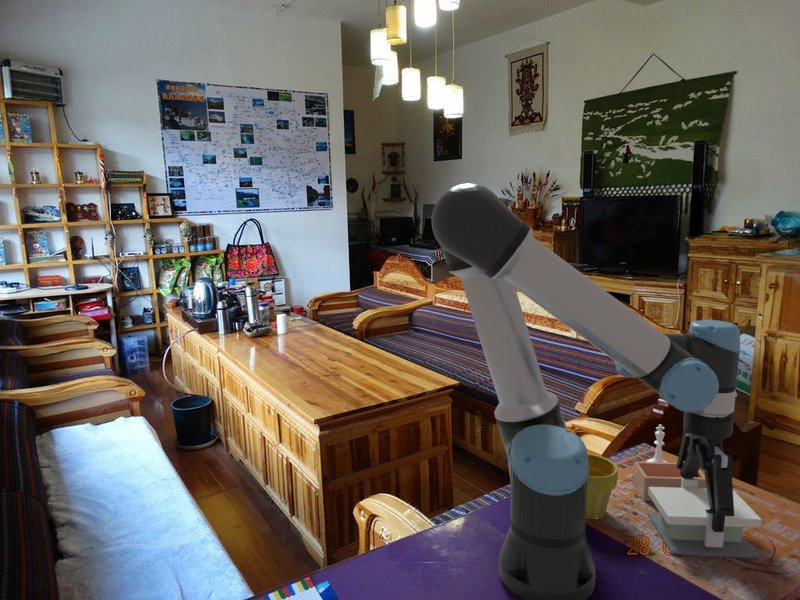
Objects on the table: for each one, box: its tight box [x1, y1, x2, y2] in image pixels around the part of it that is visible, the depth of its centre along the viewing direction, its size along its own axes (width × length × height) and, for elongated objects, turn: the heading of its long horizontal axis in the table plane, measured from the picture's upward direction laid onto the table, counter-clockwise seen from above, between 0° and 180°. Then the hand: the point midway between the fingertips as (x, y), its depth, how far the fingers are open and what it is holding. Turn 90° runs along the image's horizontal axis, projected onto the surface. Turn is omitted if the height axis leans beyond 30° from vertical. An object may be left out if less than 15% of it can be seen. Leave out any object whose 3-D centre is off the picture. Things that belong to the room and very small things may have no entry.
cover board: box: [648, 487, 763, 528], centre depth 98 cm, size 15×10×2 cm, turn 84°
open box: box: [632, 461, 707, 502], centre depth 114 cm, size 12×7×5 cm, turn 84°
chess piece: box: [646, 424, 669, 463], centre depth 125 cm, size 5×5×10 cm
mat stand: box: [647, 512, 759, 559], centre depth 99 cm, size 14×12×5 cm
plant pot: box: [586, 453, 619, 520], centre depth 107 cm, size 10×10×10 cm
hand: (699, 527), depth 99 cm, fingers open, 10 cm apart
